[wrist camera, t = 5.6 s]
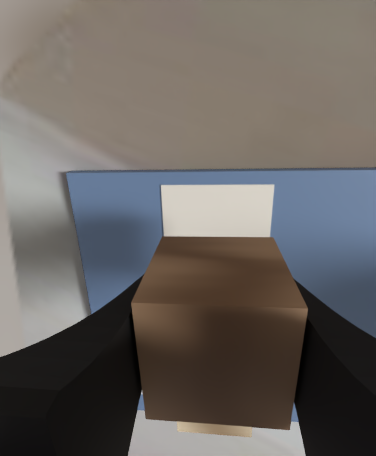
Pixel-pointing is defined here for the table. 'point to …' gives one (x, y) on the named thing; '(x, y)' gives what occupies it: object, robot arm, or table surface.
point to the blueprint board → (234, 226)
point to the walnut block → (219, 332)
